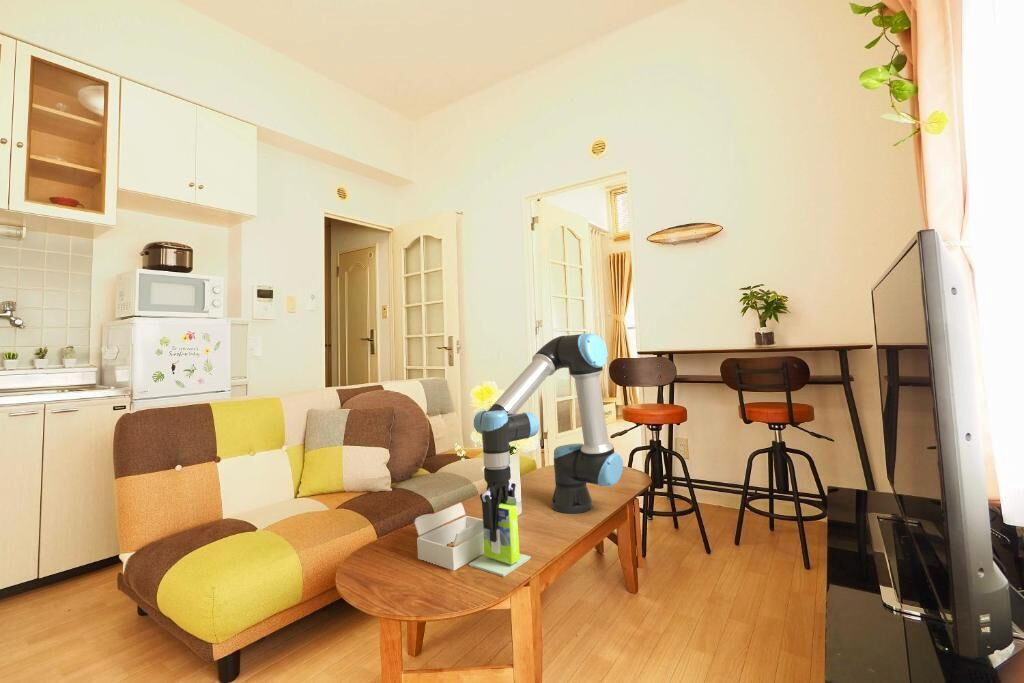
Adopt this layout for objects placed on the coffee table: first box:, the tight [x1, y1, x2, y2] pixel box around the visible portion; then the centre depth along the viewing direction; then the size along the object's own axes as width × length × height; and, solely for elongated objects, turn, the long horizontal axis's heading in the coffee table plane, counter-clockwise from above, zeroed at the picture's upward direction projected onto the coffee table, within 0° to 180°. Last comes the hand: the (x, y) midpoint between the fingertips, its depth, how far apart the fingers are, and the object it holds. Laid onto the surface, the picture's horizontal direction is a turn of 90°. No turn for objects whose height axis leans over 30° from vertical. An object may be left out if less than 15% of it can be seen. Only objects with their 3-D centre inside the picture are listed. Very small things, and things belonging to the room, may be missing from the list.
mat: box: [468, 553, 532, 578], centre depth 131 cm, size 12×12×1 cm
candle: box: [414, 513, 443, 537], centre depth 152 cm, size 9×9×6 cm
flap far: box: [413, 502, 466, 536], centre depth 145 cm, size 20×1×4 cm, turn 143°
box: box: [483, 496, 521, 565], centre depth 131 cm, size 10×4×17 cm, turn 50°
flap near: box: [452, 520, 483, 547], centre depth 136 cm, size 20×1×4 cm, turn 143°
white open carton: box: [416, 515, 484, 572], centre depth 140 cm, size 21×15×6 cm
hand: (501, 548), depth 131 cm, fingers closed on box, 4 cm apart
